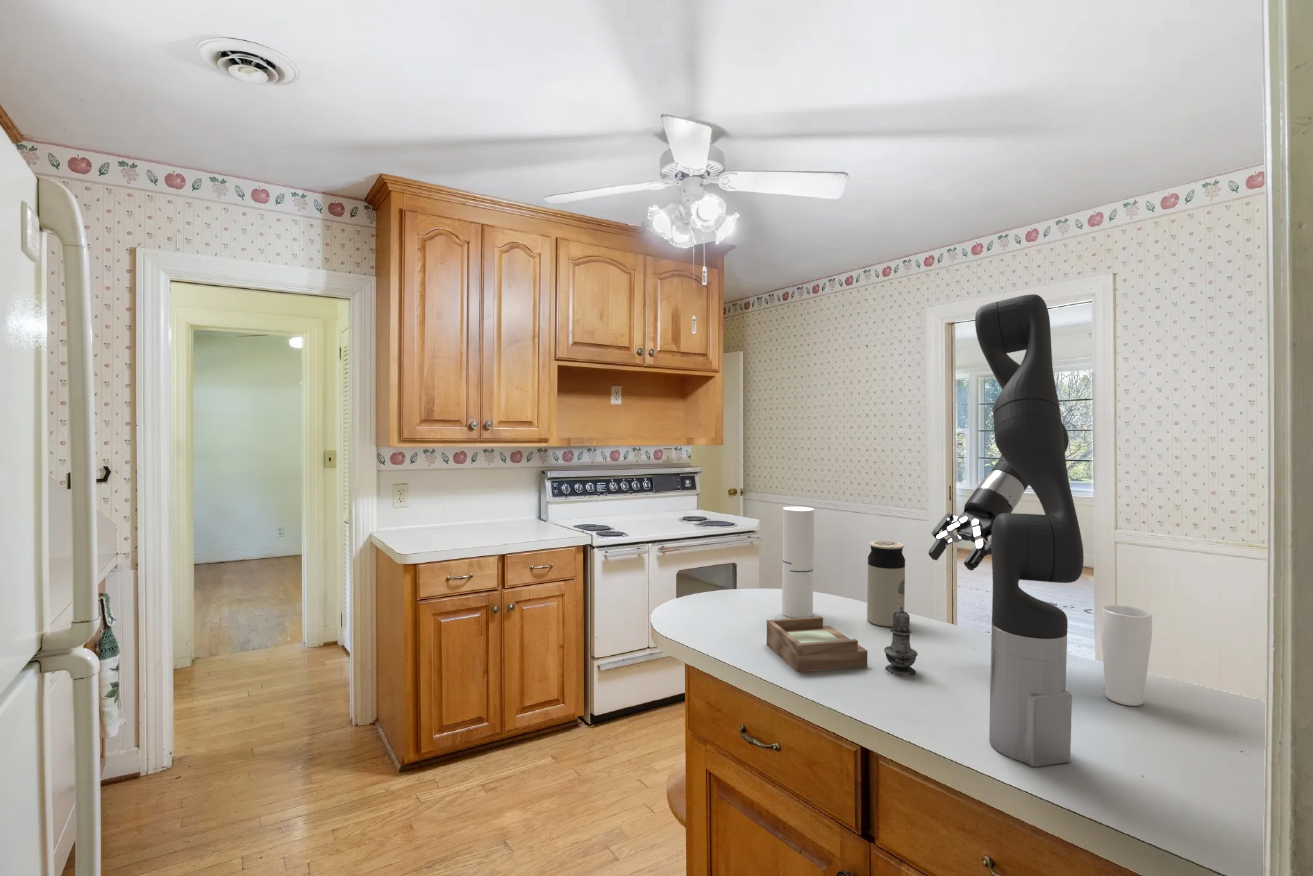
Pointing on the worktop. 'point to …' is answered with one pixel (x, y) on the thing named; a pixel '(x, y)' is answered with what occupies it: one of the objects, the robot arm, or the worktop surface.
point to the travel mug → (885, 582)
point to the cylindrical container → (797, 562)
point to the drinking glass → (1125, 652)
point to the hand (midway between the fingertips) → (949, 562)
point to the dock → (813, 645)
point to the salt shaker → (900, 646)
